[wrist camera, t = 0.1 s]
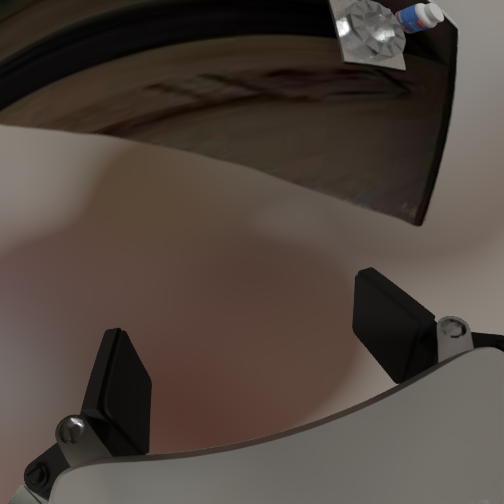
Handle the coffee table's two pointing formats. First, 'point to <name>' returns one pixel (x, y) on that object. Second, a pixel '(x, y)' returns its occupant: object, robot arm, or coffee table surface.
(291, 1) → the coffee table surface
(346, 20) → the ring socket
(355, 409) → the robot arm
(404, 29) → the pill bottle
